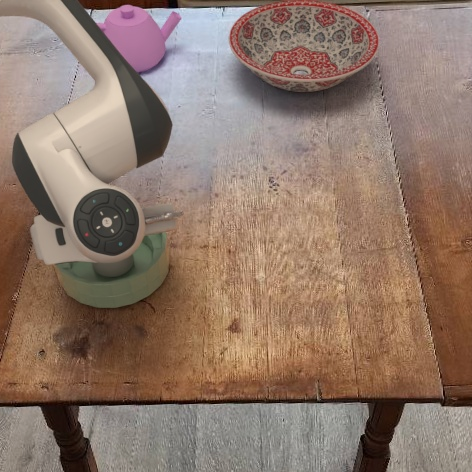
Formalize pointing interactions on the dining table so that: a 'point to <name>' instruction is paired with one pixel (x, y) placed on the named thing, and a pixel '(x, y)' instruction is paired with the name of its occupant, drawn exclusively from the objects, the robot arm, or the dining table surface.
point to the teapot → (138, 35)
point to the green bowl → (121, 287)
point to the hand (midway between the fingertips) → (106, 231)
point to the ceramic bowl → (303, 43)
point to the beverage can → (114, 267)
